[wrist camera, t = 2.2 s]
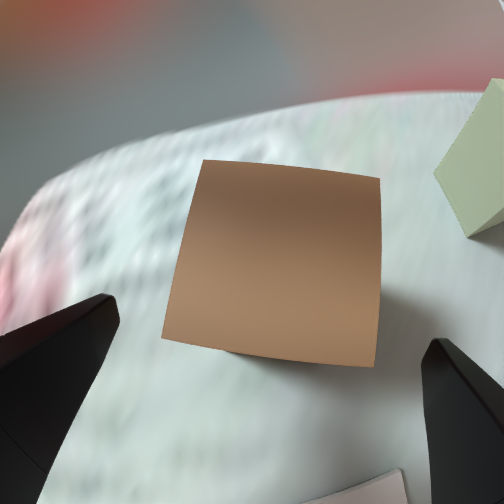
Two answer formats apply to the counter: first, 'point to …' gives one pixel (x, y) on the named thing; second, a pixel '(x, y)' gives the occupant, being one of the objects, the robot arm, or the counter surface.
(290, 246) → the walnut block
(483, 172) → the sage block
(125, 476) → the counter surface
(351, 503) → the card
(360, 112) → the counter surface
